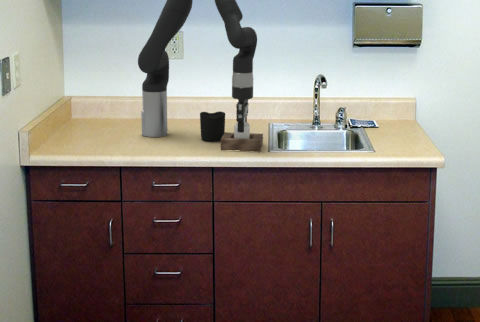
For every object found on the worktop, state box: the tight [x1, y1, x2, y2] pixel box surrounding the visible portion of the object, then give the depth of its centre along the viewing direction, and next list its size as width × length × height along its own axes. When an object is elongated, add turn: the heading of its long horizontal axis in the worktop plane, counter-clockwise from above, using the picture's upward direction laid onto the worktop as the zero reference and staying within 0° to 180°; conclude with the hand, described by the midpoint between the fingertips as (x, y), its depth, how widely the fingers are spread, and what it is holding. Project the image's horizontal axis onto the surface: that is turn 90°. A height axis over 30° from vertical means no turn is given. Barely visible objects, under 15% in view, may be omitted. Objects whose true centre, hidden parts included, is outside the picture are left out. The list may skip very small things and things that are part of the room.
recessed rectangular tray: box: [220, 131, 264, 152], centre depth 279 cm, size 14×11×4 cm
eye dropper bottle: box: [233, 116, 251, 139], centre depth 277 cm, size 4×6×12 cm
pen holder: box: [199, 110, 226, 143], centre depth 289 cm, size 9×9×10 cm
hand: (242, 129), depth 278 cm, fingers open, 8 cm apart
